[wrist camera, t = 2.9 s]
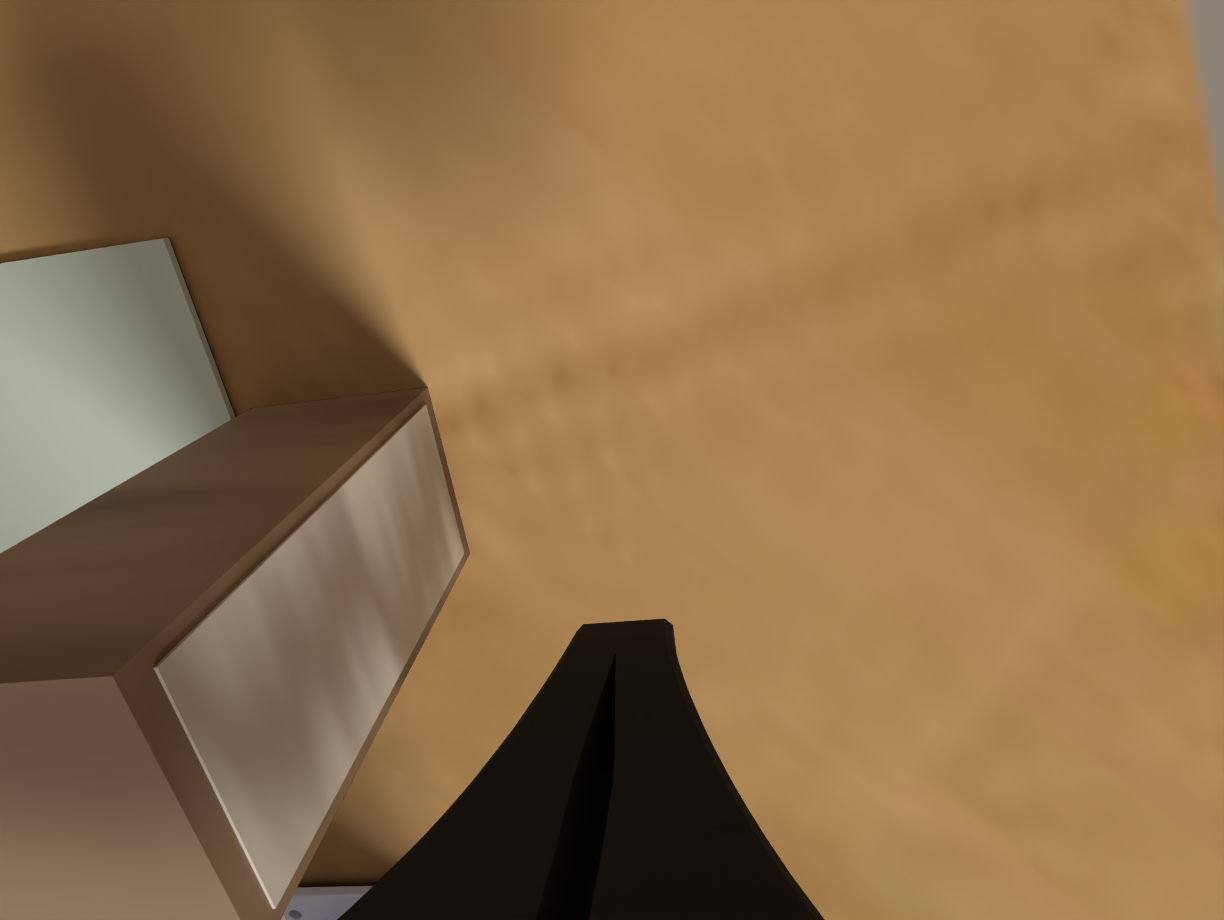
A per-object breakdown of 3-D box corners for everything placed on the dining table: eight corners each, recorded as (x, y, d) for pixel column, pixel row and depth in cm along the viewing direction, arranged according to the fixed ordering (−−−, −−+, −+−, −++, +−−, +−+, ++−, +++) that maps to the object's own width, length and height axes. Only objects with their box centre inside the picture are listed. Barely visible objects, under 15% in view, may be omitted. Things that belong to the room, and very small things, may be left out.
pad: (336, 688, 22) (333, 693, 22) (35, 706, 24) (30, 710, 23) (168, 237, 17) (162, 238, 17) (-208, 295, 18) (-217, 297, 18)
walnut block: (471, 553, 20) (263, 958, 10) (307, 567, 20) (-47, 960, 10) (429, 387, 18) (116, 676, 8) (250, 408, 18) (-253, 700, 8)
